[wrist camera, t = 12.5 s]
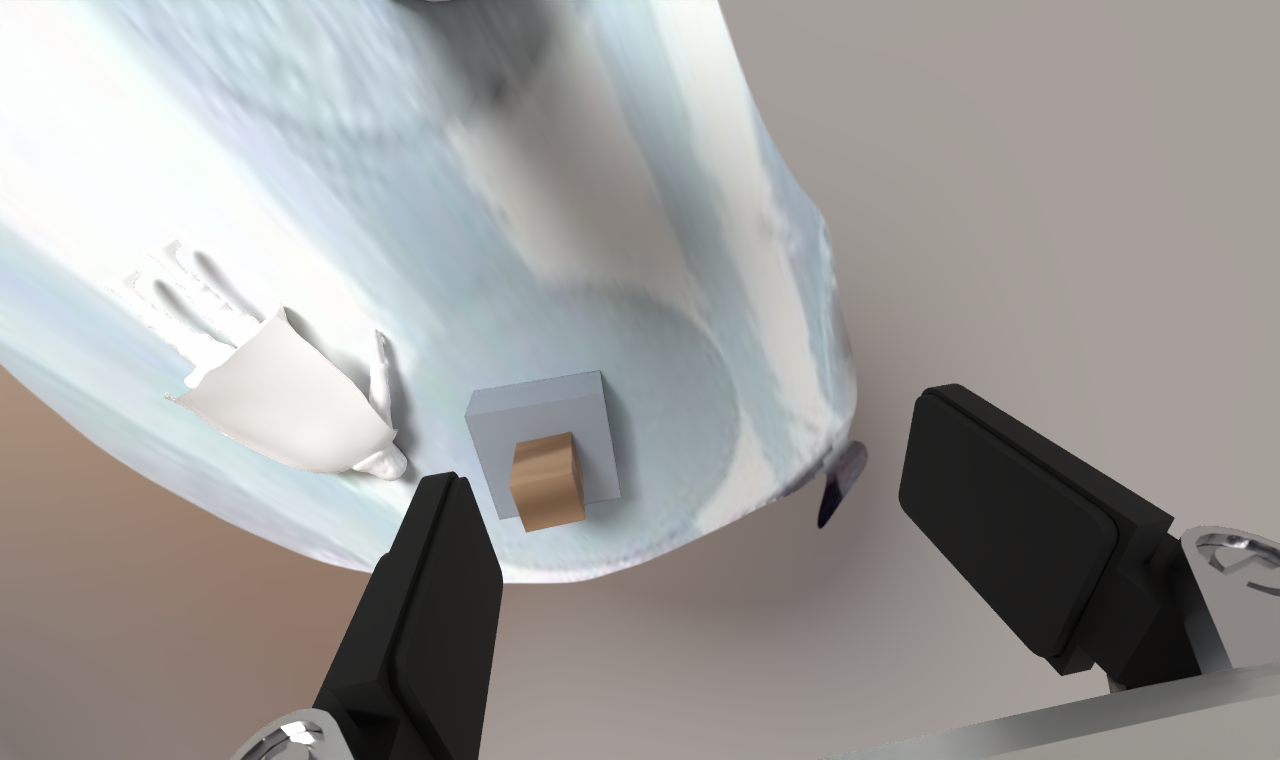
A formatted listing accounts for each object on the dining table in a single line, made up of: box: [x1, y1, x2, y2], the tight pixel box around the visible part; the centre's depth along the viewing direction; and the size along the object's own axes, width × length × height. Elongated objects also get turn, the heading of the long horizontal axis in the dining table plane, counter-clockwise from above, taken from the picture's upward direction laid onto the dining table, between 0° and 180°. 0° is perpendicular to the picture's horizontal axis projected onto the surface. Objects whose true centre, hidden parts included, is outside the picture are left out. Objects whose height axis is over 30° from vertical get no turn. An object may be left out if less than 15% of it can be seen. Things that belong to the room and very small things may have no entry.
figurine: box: [102, 238, 407, 481], centre depth 38 cm, size 17×9×25 cm
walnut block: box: [509, 432, 585, 532], centre depth 41 cm, size 5×5×6 cm
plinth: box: [465, 370, 621, 520], centre depth 46 cm, size 12×12×5 cm
